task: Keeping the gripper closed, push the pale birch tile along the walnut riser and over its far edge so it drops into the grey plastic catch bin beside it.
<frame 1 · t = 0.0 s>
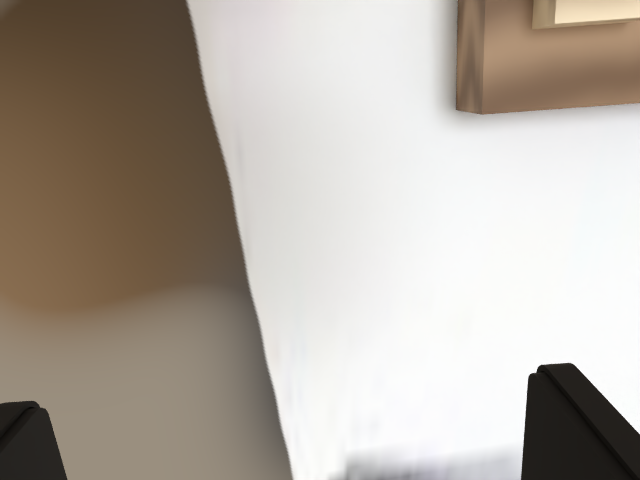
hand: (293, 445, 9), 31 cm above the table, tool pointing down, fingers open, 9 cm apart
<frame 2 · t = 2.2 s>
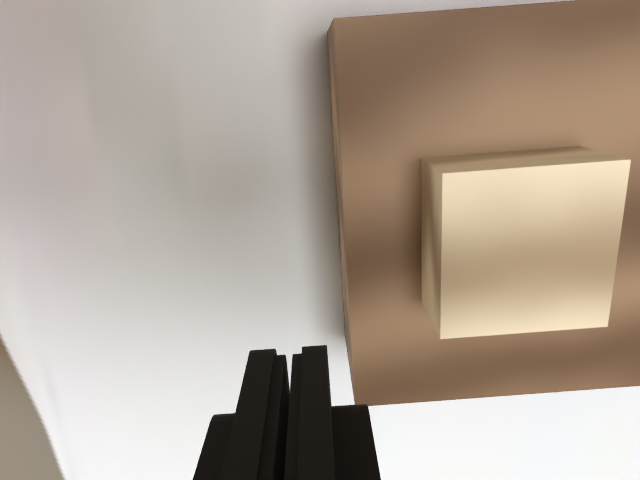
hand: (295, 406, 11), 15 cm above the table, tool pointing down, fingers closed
walnut riser: (492, 189, 25), on the table
birch tile: (497, 227, 19), point 6 cm above the table, touching walnut riser
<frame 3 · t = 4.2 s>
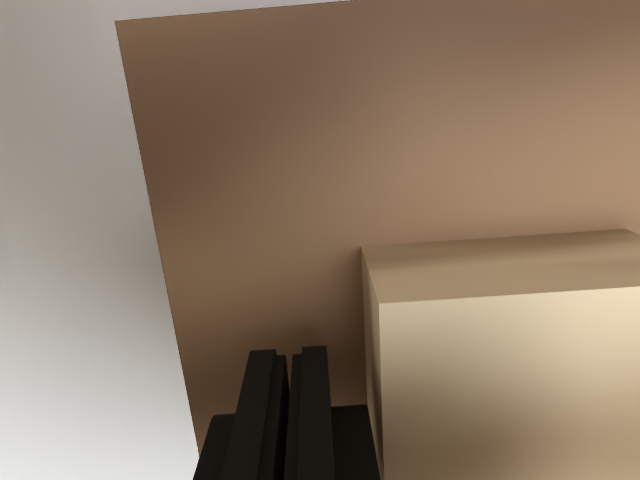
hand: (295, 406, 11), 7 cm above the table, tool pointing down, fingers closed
walnut riser: (444, 262, 18), on the table
birch tile: (487, 353, 12), point 6 cm above the table, touching gripper, walnut riser
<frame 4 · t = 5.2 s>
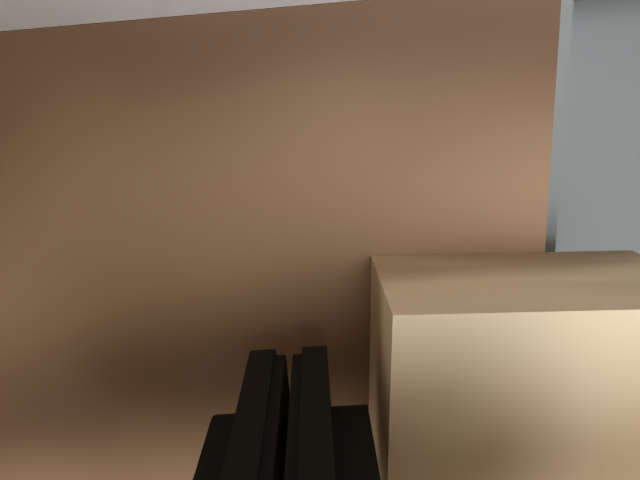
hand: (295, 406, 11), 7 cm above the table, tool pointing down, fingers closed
walnut riser: (245, 278, 18), on the table
birch tile: (490, 367, 12), point 6 cm above the table
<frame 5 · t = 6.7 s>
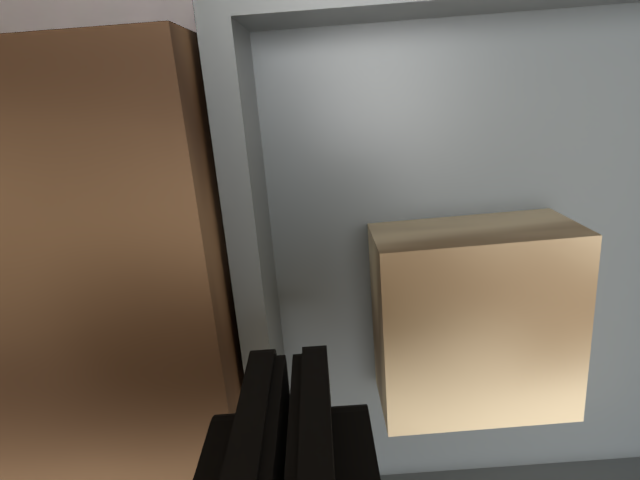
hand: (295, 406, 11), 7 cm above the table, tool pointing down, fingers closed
walnut riser: (32, 297, 18), on the table
catch bin: (477, 264, 18), on the table
birch tile: (488, 343, 14), point 4 cm above the table, tilted 180°, touching catch bin
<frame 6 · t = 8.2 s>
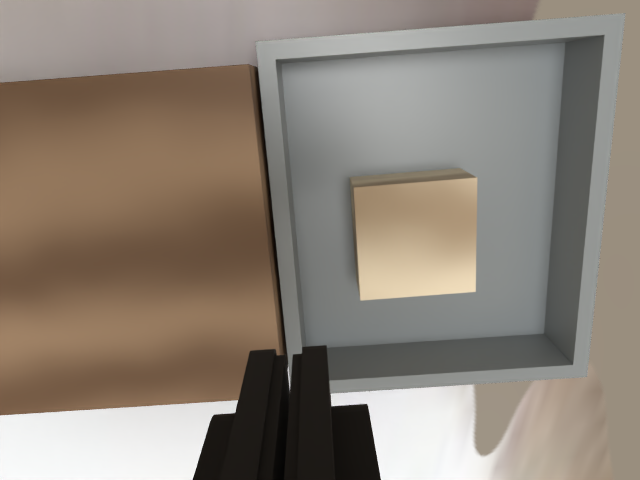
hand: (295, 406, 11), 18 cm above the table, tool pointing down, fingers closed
walnut riser: (141, 225, 28), on the table
catch bin: (420, 206, 28), on the table
birch tile: (416, 241, 24), point 4 cm above the table, tilted 180°, touching catch bin
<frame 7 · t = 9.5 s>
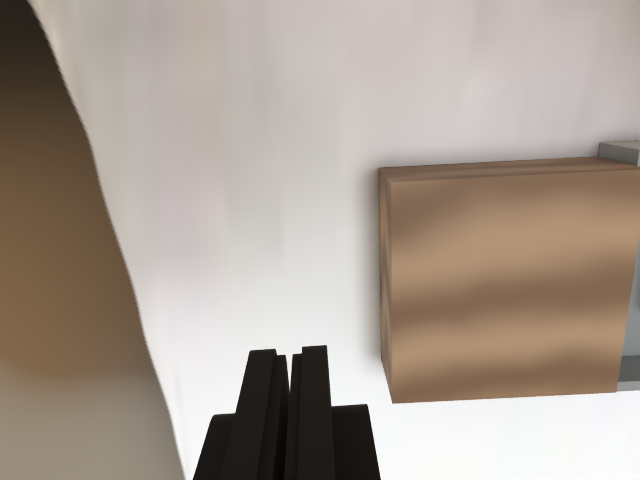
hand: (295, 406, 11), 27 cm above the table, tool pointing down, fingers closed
walnut riser: (481, 264, 38), on the table
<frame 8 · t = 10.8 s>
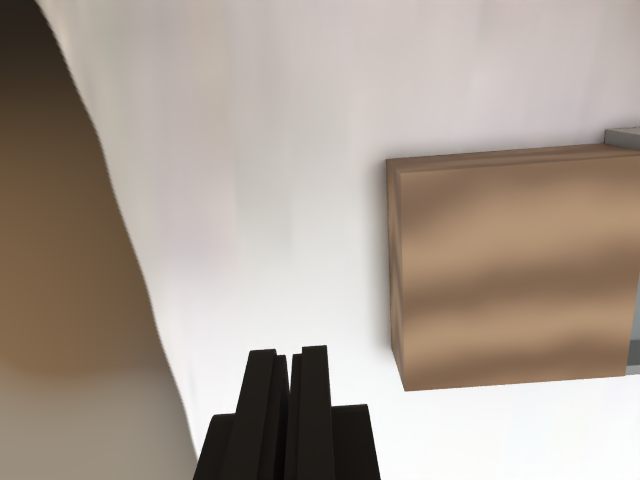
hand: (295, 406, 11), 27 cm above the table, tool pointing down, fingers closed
walnut riser: (489, 252, 38), on the table
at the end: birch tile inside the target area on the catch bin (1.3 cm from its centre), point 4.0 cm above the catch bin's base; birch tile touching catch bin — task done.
